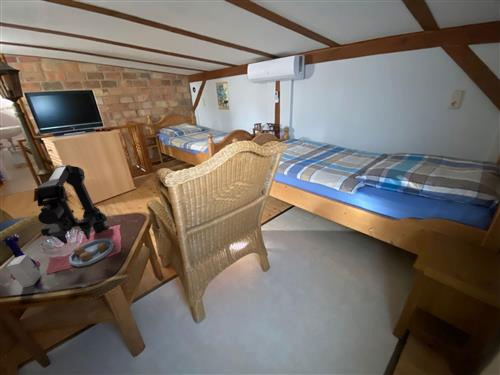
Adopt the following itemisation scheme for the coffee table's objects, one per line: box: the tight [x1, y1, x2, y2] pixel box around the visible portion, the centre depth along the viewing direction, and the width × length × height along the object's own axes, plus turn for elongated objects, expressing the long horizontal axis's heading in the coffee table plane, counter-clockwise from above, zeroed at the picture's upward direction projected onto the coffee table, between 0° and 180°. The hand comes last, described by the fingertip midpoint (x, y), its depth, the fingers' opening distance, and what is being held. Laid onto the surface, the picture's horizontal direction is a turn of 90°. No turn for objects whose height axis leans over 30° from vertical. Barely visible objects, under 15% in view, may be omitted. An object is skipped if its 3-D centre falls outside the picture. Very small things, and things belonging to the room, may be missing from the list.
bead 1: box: [72, 245, 86, 257], centre depth 102 cm, size 4×4×4 cm
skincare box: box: [6, 254, 42, 288], centre depth 88 cm, size 6×4×12 cm
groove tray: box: [68, 237, 115, 268], centre depth 104 cm, size 18×18×3 cm
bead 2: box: [79, 251, 93, 262], centre depth 98 cm, size 4×4×4 cm
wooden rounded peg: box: [97, 242, 108, 253], centre depth 104 cm, size 4×4×4 cm
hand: (77, 241), depth 94 cm, fingers open, 9 cm apart
